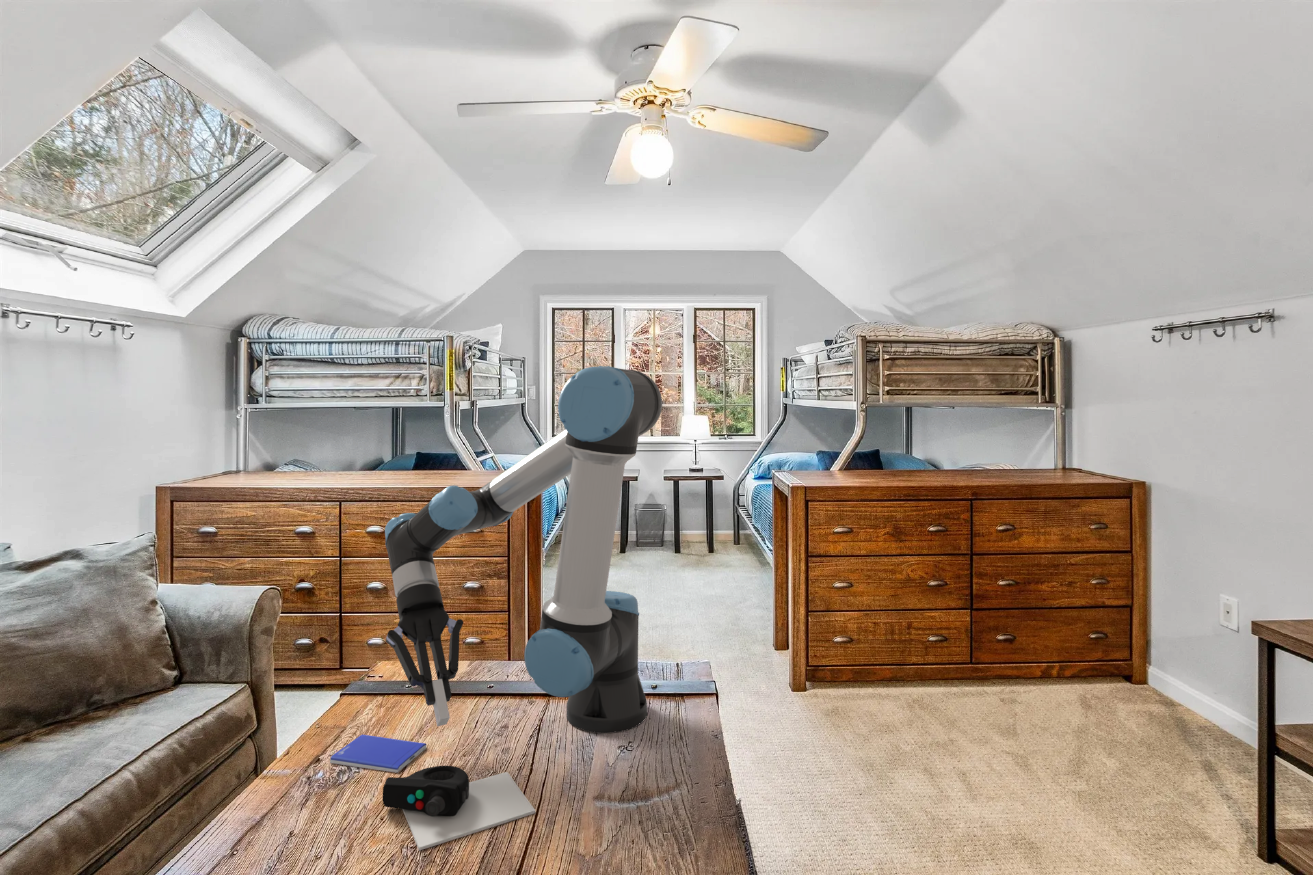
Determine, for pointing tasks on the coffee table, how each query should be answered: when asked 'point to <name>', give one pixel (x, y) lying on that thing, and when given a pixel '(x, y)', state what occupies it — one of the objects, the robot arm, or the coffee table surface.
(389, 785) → the controller
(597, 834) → the coffee table surface
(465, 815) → the grey mat
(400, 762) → the hard drive
